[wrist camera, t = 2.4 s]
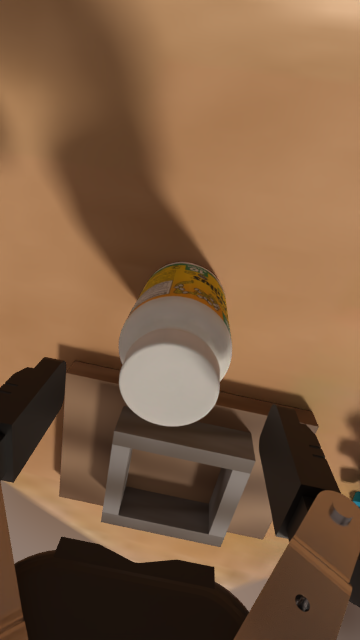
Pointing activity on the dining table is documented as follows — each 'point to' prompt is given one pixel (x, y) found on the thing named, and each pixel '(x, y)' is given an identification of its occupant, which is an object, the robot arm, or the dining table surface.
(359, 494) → the gear
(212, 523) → the socket stand
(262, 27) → the dining table surface
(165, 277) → the supplement bottle
